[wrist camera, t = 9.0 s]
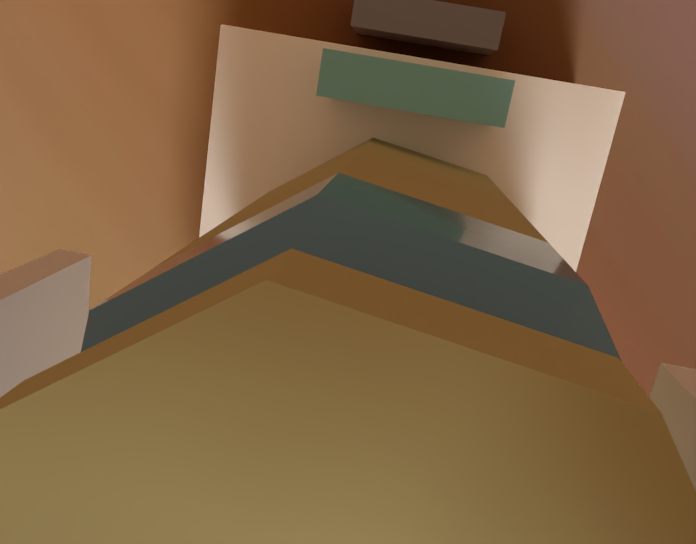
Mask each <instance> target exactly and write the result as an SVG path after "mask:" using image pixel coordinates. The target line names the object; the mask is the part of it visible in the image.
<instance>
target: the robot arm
mask: <svg viewBox="0 0 696 544" xmlns="http://www.w3.org/2000/svg"><path fill="white" fill-rule="evenodd" d="M90 273H91V255H88V254H82V253H77V252H72V251H66V250H61V249H59V250H57V251H55V252H52V253H50V254H48V255H45V256H43V257H41V258H38V259H36V260H34V261H31V262H29V263H27V264H24V265H22V266H20V267H17V268H15V269H13V270H11V271H8V272H6V273H4V274H1V275H0V398H1V397H2V396H3V395H5V394H6V393H7V392H9V391H10V390H11V389H13V388H14V387H16V386H17V385H18V384H20V383H21V382H22V381H24V380H26V379H28V378H30V377H32V376H34V375H36V374H38V373H40V372H42V371H44V370H46V369H48V368H50V367H52V366H54V365H56V364H58V363H60V362H62V361H64V360H66V359H68V358H70V357H72V356H74V355H76V354H78V353H80V352H81V348H82V343H83V338H84V334H85V329H86V324H87V319H88V309H89V291H90ZM649 398H650V399H651V400H652V401H653V403H654V404H655V405H656V407H657V408H658V409H659V410H660V412H661V413H662V416H663V418H664V420H665V422H666V425H667V427H668V429H669V431H670V434H671V436H672V438H673V441H674V443H675V445H676V447H677V450H678V452H679V454H680V457H681V459H682V461H683V463H684V466H685V468H686V470H687V472H688V475H689V477H690V479H691V482H692V484H693V486H694V488H695V491H696V369H692V368H687V367H682V366H676V365H671V364H666V363H661V364H660V367H659V370H658V373H657V376H656V379H655V382H654V385H653V388H652V391H651V394H650V397H649Z"/></svg>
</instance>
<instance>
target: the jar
mask: <svg viewBox="0 0 696 544" xmlns="http://www.w3.org/2000/svg"><path fill="white" fill-rule="evenodd" d="M0 544H696V491H695V488H694V486H693V484H692V482H691V479H690V477H689V475H688V472H687V470H686V468H685V466H684V463H683V461H682V459H681V457H680V454H679V452H678V450H677V447H676V445H675V443H674V441H673V438H672V436H671V434H670V431H669V429H668V427H667V425H666V422H665V420H664V418H663V416H662V413H661V412H660V410H659V409H658V408H657V407H656V405H655V404H654V403H653V401H652V400H651V399H650V398H649V396H648V395H647V394H646V392H645V391H644V390H643V389H642V387H641V386H640V385H639V383H638V382H637V381H636V380H635V378H634V377H633V376H632V374H631V373H630V372H629V371H628V369H627V368H626V367H625V366H624V364H623V363H622V361H621V359H620V357H619V355H618V352H617V350H616V348H615V346H614V343H613V341H612V339H611V337H610V334H609V332H608V330H607V328H606V325H605V323H604V321H603V319H602V316H601V314H600V312H599V310H598V307H597V305H596V303H595V301H594V298H593V296H592V294H591V292H590V289H589V287H588V285H587V284H586V283H585V282H584V281H583V280H582V279H581V277H580V276H579V275H578V274H577V273H576V272H575V271H574V270H573V269H572V268H571V266H570V265H569V264H568V263H567V262H566V261H565V260H564V259H563V258H562V257H561V256H560V254H559V253H558V252H557V251H556V250H555V249H554V248H553V247H552V246H551V245H550V244H549V242H548V241H547V240H546V239H545V238H544V237H543V236H542V235H541V234H540V233H539V232H538V230H537V229H536V228H535V227H534V226H533V225H532V224H531V223H530V222H529V221H528V220H527V218H526V217H525V216H524V215H523V214H522V213H521V212H520V211H519V210H518V209H517V208H516V206H515V205H514V204H513V203H512V202H511V201H510V200H509V199H508V198H507V197H506V196H505V194H504V193H503V192H502V191H501V190H500V189H499V188H498V187H497V186H496V185H495V184H494V182H493V181H492V180H491V179H490V178H489V177H488V176H487V175H485V174H482V173H479V172H476V171H473V170H470V169H467V168H464V167H461V166H458V165H454V164H451V163H448V162H445V161H442V160H439V159H436V158H433V157H430V156H427V155H424V154H421V153H418V152H415V151H412V150H409V149H406V148H403V147H400V146H397V145H394V144H391V143H388V142H385V141H382V140H379V139H376V138H371V139H369V140H367V141H365V142H363V143H362V144H360V145H358V146H356V147H354V148H352V149H350V150H348V151H346V152H344V153H342V154H340V155H338V156H336V157H335V158H333V159H331V160H329V161H327V162H325V163H323V164H321V165H319V166H317V167H315V168H313V169H311V170H309V171H308V172H306V173H304V174H302V175H300V176H298V177H296V178H294V179H292V180H290V181H288V182H286V183H284V184H282V185H281V186H279V187H277V188H275V189H273V190H271V191H269V192H268V193H266V194H265V195H263V196H262V197H260V198H259V199H257V200H256V201H254V202H253V203H251V204H250V205H248V206H247V207H245V208H244V209H242V210H241V211H239V212H238V213H236V214H234V215H233V216H231V217H230V218H228V219H227V220H225V221H224V222H222V223H221V224H219V225H218V226H216V227H215V228H213V229H212V230H210V231H209V232H207V233H206V234H204V235H203V236H201V237H200V238H198V239H197V240H195V241H194V242H192V243H191V244H189V245H188V246H186V247H185V248H183V249H182V250H180V251H179V252H177V253H176V254H174V255H172V256H171V257H169V258H168V259H166V260H165V261H163V262H162V263H160V264H159V265H157V266H156V267H154V268H153V269H151V270H150V271H148V272H147V273H145V274H144V275H142V276H141V277H139V278H138V279H136V280H135V281H133V282H132V283H130V284H129V285H127V286H126V287H124V288H123V289H121V290H120V291H118V292H117V293H115V294H114V295H112V296H110V297H109V298H107V299H106V300H104V301H103V302H101V303H100V304H98V305H97V306H95V307H94V308H92V309H91V310H89V315H88V319H87V324H86V329H85V334H84V338H83V343H82V348H81V352H80V353H78V354H76V355H74V356H72V357H70V358H68V359H66V360H64V361H62V362H60V363H58V364H56V365H54V366H52V367H50V368H48V369H46V370H44V371H42V372H40V373H38V374H36V375H34V376H32V377H30V378H28V379H26V380H24V381H22V382H21V383H20V384H18V385H17V386H16V387H14V388H13V389H11V390H10V391H9V392H7V393H6V394H5V395H3V396H2V397H1V398H0Z"/></svg>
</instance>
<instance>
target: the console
mask: <svg viewBox="0 0 696 544" xmlns="http://www.w3.org/2000/svg"><path fill="white" fill-rule="evenodd" d="M505 16H506V12H504V11H497V10H491V9H485V8H479V7H473V6H467V5H461V4H455V3H449V2H442V1H436V0H354V5H353V11H352V18H351V24H350V26H351V27H352V28H353V29H354V30H355V31H356V32H357V34H362V35H368V36H374V37H380V38H386V39H392V40H397V41H403V42H409V43H415V44H421V45H427V46H433V47H439V48H445V49H451V50H457V51H463V52H469V53H475V54H481V55H487V56H488V55H490V54H492V53H494V52H496V51H497V50H498V48H499V43H500V39H501V34H502V30H503V25H504V20H505ZM624 96H625V92H621V91H615V90H610V89H604V88H598V87H592V86H586V85H580V84H574V83H568V82H562V81H556V80H550V79H544V78H538V77H532V76H526V75H520V74H514V73H509V72H503V71H497V70H491V69H485V68H479V67H473V66H467V65H461V64H455V63H449V62H443V61H437V60H431V59H425V58H419V57H413V56H408V55H402V54H396V53H390V52H384V51H378V50H372V49H366V48H360V47H354V46H348V45H342V44H336V43H330V42H324V41H318V40H313V39H307V38H301V37H295V36H289V35H283V34H277V33H271V32H265V31H259V30H253V29H247V28H241V27H235V26H229V25H223V24H221V27H220V37H219V46H218V56H217V66H216V76H215V86H214V96H213V105H212V115H211V125H210V135H209V145H208V155H207V164H206V174H205V184H204V194H203V204H202V214H201V224H200V233H199V238H200V237H201V236H203V235H204V234H206V233H207V232H209V231H210V230H212V229H213V228H215V227H216V226H218V225H219V224H221V223H222V222H224V221H225V220H227V219H228V218H230V217H231V216H233V215H234V214H236V213H238V212H239V211H241V210H242V209H244V208H245V207H247V206H248V205H250V204H251V203H253V202H254V201H256V200H257V199H259V198H260V197H262V196H263V195H265V194H266V193H268V192H269V191H271V190H273V189H275V188H277V187H279V186H281V185H282V184H284V183H286V182H288V181H290V180H292V179H294V178H296V177H298V176H300V175H302V174H304V173H306V172H308V171H309V170H311V169H313V168H315V167H317V166H319V165H321V164H323V163H325V162H327V161H329V160H331V159H333V158H335V157H336V156H338V155H340V154H342V153H344V152H346V151H348V150H350V149H352V148H354V147H356V146H358V145H360V144H362V143H363V142H365V141H367V140H369V139H371V138H376V139H379V140H382V141H385V142H388V143H391V144H394V145H397V146H400V147H403V148H406V149H409V150H412V151H415V152H418V153H421V154H424V155H427V156H430V157H433V158H436V159H439V160H442V161H445V162H448V163H451V164H454V165H458V166H461V167H464V168H467V169H470V170H473V171H476V172H479V173H482V174H485V175H487V176H488V177H489V178H490V179H491V180H492V181H493V182H494V184H495V185H496V186H497V187H498V188H499V189H500V190H501V191H502V192H503V193H504V194H505V196H506V197H507V198H508V199H509V200H510V201H511V202H512V203H513V204H514V205H515V206H516V208H517V209H518V210H519V211H520V212H521V213H522V214H523V215H524V216H525V217H526V218H527V220H528V221H529V222H530V223H531V224H532V225H533V226H534V227H535V228H536V229H537V230H538V232H539V233H540V234H541V235H542V236H543V237H544V238H545V239H546V240H547V241H548V242H549V244H550V245H551V246H552V247H553V248H554V249H555V250H556V251H557V252H558V253H559V254H560V256H561V257H562V258H563V259H564V260H565V261H566V262H567V263H568V264H569V265H570V266H571V268H572V269H573V270H574V271H575V272H576V270H577V266H578V262H579V259H580V255H581V252H582V248H583V244H584V241H585V237H586V233H587V230H588V226H589V223H590V219H591V215H592V212H593V208H594V205H595V201H596V197H597V194H598V190H599V186H600V183H601V179H602V176H603V172H604V168H605V165H606V161H607V157H608V154H609V150H610V147H611V143H612V139H613V136H614V132H615V128H616V125H617V121H618V118H619V114H620V110H621V107H622V103H623V99H624Z"/></svg>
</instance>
